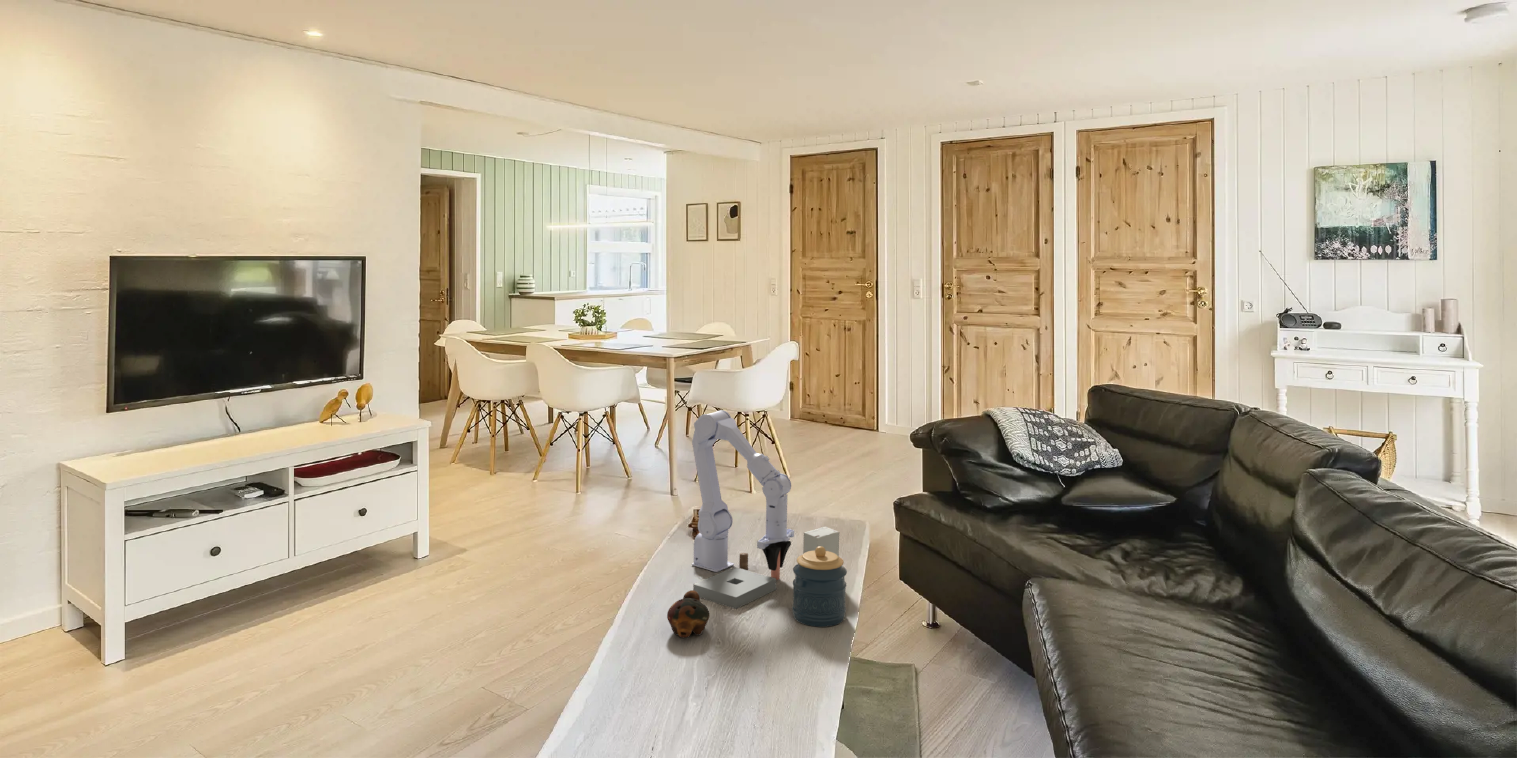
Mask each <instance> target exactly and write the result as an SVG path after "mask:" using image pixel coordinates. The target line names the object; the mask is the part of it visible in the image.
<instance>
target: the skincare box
mask: <svg viewBox="0 0 1517 758" xmlns="http://www.w3.org/2000/svg"><path fill="white" fill-rule="evenodd" d="M818 546H822V547H824V548H825V550H826V551H829V552H832V553H835V554H836V555H837V556H839V557H840V552H839V551H840V550H839V549H840V531H838V530H835V529H833V528H831V527H828V526H821V527H819V528H816V529H811V530H808V531H804V532H803V547H802V548H803V549H802V550H803V551H802V555H803V554H804V553H806V552H808V551H815V549H816V548H817V547H818Z"/></svg>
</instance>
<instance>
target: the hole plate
mask: <svg viewBox="0 0 1517 758" xmlns="http://www.w3.org/2000/svg"><path fill="white" fill-rule="evenodd" d="M692 589H693V590H694V591H696V592H697V593H698V594H699V598H700V599H703V600H706V601H709V602H713V603H715V604H719V605H721V606H725V607H728V608H731V609H735V610H737V609H738V608H740V607H742V606H746V605H747V604H750V603H752V602H753V601H755V600H757V599H759V598H761V597H764V596H765V595H768V594H770V593H773V592H774V591H776V590H777V580H776V578H773V577H771V576H769V575H765V574H761V573H757V572H755V571H751V570H749V569H748V570H744V569H741V568H739V567H737V566H732V568H731V567H730V568H729V569H727V570H723V571H721V572H718V573H717V574H715V575H714V574H713V575H712V576H710V577H708V578H705V579H702V580H700V581H698V582H696V583H693V588H692Z"/></svg>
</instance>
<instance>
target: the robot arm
mask: <svg viewBox="0 0 1517 758" xmlns="http://www.w3.org/2000/svg"><path fill="white" fill-rule="evenodd" d="M693 426H694V427H693V428H694V432H693V436H692V439H691V444H692V450H693V451H692V452H693V456H694V462H695V466H696V474H697V479H698V483H699V484H698V485H699V490H700V496H701V501H702V504H701V506H700V508H699V510H698V512H697V513H698V523H697V530H698V532H699V533H698V534H696V536H695V538H694V541H693V562H692V563H691V565H692V566H693V567H697V568H701V569H704V570H707V571H712V572H713V573H720V571H721V572H722V571H724V570H725V569H728V568H731V567H734V566H735V562H731V561H729V559H728V557H729V556H728V555H729V553H728V551H729V550H728V549H729V530H730V529H731V527H732V526H733V524H734V523H733V516H732V514H731V513H730V510H729V509H728V504H727V503H726V502H724V500H722V493H721V487H720V483H719V477H718V470H717V466H716V465H717V464H716V459H715V454H714V448H713V447H714V444H715V443H716V441H717V440H722V441H723V440H724V441H727V442H728V443H729V444H730V445H731V446H732V447H733V448H734V449H735V450H736V451H737V452H738V453H739V454H740V455H741V456H742V457H743V458H744V459H745V461H746V468H747V469H748V470H749V472H750V474H752V475H753V477H754V479H756V480H757V481H758V483H759V484H760V485H761V486H762V487H761V489H762V494H763V495H764V496H765V504H766V505H765V534H764V535H763V536H762V537H761V538H760V539H758V540H757V541H756V548H757V549H760V550H762V552H763V554H764V557H765V559H766V563H767V568H768V570H770V571H771V570H773V571H775V570H776V568H777V560H778V555H779V552H780V569H781V568H783V566H784V563H785V558H786V555H787V552H788V551H789V549H790V547H791V546H792V541H791V539H790V538H794V537H795V530H794V529H791V528H788V494H789V492H790V491H791V489H792V481H791V479H790V478H789V476H788V475H787V474H784V473H782V472H781V471H780V470H778V469H776V467H775V466H774V465H773V464H772V462H770V461H769V460H770V458H769V457H768V455H765V454H764V453H758V452H756V450H755V448H754V447H753V446H752V445H751V443H750V441H748V439H747V438H746V436H745V435H744V433H742V431H741V430H740V429H739V427H738V425H737V423H736V420H735V419H734V418H733V417H732V416H731V415H730V413H729V412H728V411H726V410H723V409H720V410H717V411H713V412H710V413H704V414H701V415H699V416H698V417H697V419H696V420H695V422H694V423H693Z"/></svg>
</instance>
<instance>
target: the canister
mask: <svg viewBox="0 0 1517 758" xmlns="http://www.w3.org/2000/svg"><path fill="white" fill-rule="evenodd" d="M796 563H797V564H795V565H794V566H793V568H792V572H793V574H794V579H793V581H792V585H793V587H792V588H793V591H792V594H793V595H792V605H791V610H792V612H791V613H792V617H793V618H794V620H796V622H798V623H800V624H802V625H806V626H810V627H822V628H823V627H832V626H836V625H839V624H840V623H842V622H844V620H845V618H846V617H845V615H846V611H847V608H846V592H847V591H846V589H847V582H846V581H845V579H846V578H845V576H847V573H848V570H847V569H846V566H845V567H844V564H845V563H844V559H843V558H842V557H840V555H839V556H837V555H836V554H835V553H832V552H829V551H826V550H825V548H824V547H822V546H818V547H817V548H816V549H815V551H808V552H806V553H804V554H803V553H802V554H801V555H798V557H797V559H796Z"/></svg>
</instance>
